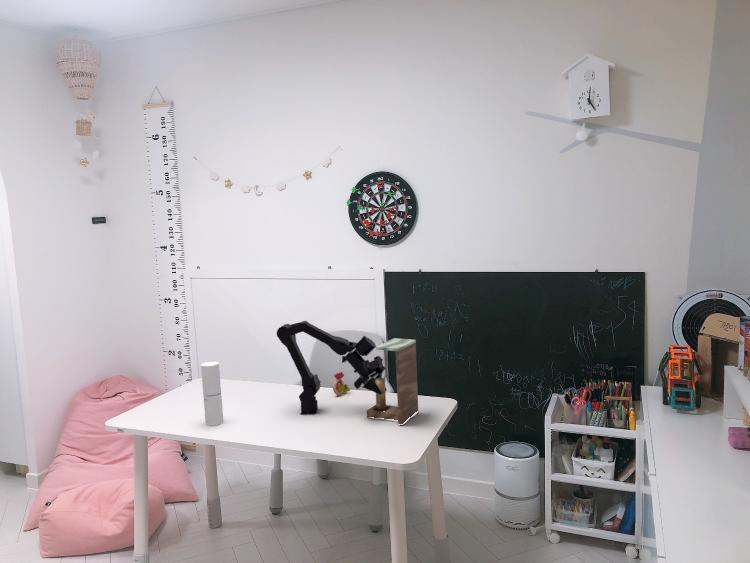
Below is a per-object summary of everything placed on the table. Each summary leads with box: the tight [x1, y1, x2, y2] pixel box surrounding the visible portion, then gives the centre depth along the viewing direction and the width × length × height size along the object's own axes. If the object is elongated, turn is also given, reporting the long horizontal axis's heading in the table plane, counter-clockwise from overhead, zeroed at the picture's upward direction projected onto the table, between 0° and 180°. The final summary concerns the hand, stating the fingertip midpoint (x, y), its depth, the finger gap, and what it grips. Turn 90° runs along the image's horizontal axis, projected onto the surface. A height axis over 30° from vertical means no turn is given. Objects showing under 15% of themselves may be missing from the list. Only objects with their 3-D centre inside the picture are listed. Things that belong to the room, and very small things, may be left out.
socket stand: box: [366, 337, 419, 424], centre depth 245 cm, size 18×16×31 cm
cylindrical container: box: [200, 361, 224, 427], centre depth 247 cm, size 7×7×25 cm
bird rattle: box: [332, 371, 351, 397], centre depth 278 cm, size 6×11×9 cm
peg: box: [375, 377, 387, 409], centre depth 248 cm, size 4×4×12 cm
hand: (383, 392), depth 247 cm, fingers closed on peg, 4 cm apart
